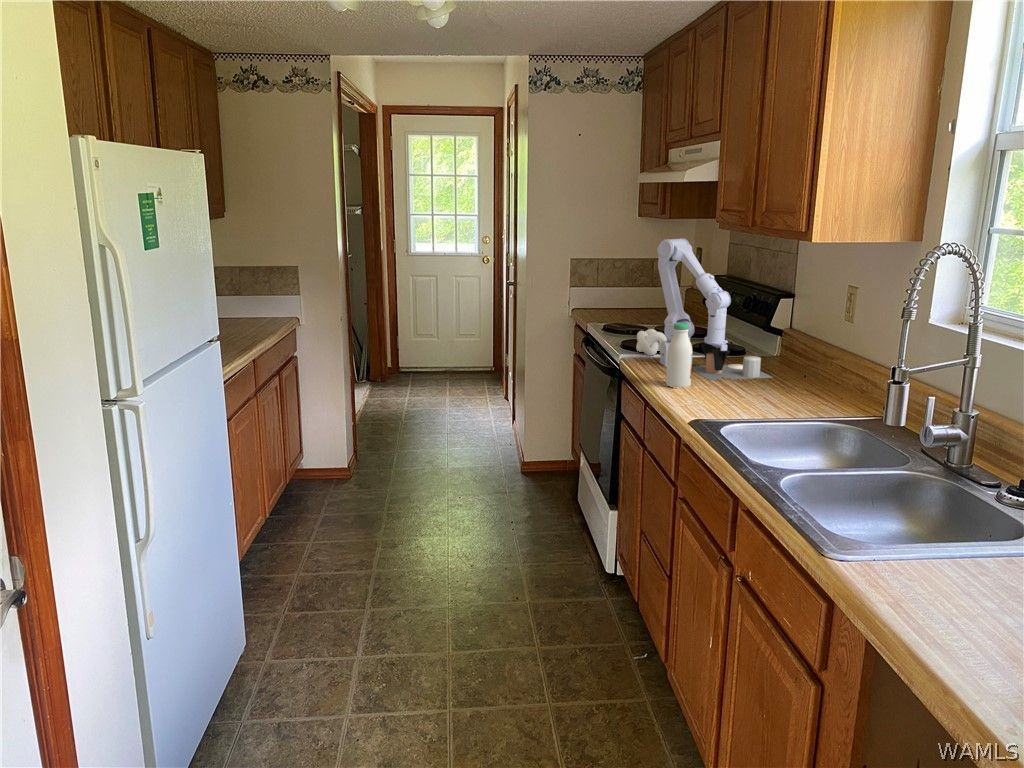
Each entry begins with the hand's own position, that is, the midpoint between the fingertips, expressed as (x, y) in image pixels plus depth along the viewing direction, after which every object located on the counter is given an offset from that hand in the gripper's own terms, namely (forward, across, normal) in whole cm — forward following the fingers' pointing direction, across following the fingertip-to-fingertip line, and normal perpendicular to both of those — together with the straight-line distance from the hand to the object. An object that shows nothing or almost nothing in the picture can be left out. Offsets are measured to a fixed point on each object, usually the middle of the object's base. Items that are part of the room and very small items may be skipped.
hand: (713, 367), depth 252 cm
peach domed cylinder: (+1, 0, 0) cm, 1 cm away
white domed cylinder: (+1, -7, -10) cm, 12 cm away
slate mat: (+2, -1, -5) cm, 5 cm away
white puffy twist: (+2, +33, +11) cm, 35 cm away
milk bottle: (+2, -15, +18) cm, 24 cm away
